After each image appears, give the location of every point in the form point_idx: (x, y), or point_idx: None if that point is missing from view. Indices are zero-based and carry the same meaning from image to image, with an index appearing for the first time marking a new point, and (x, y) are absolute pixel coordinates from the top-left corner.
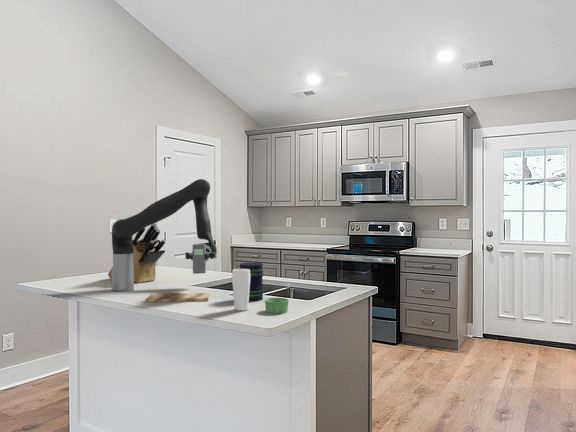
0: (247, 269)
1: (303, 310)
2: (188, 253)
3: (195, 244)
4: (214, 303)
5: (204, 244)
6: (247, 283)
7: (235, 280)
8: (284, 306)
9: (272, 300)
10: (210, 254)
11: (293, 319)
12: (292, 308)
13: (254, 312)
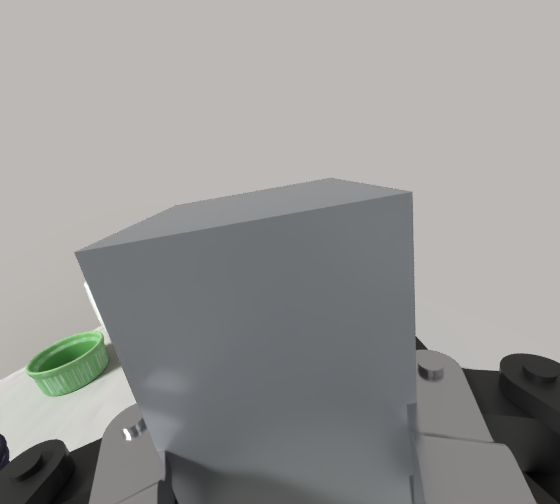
0: (87, 284)
1: (7, 389)
2: (524, 372)
3: (314, 189)
4: None
5: (166, 211)
6: None
7: None
8: (68, 349)
9: (61, 371)
10: (87, 447)
11: (97, 328)
12: (9, 407)
13: None
